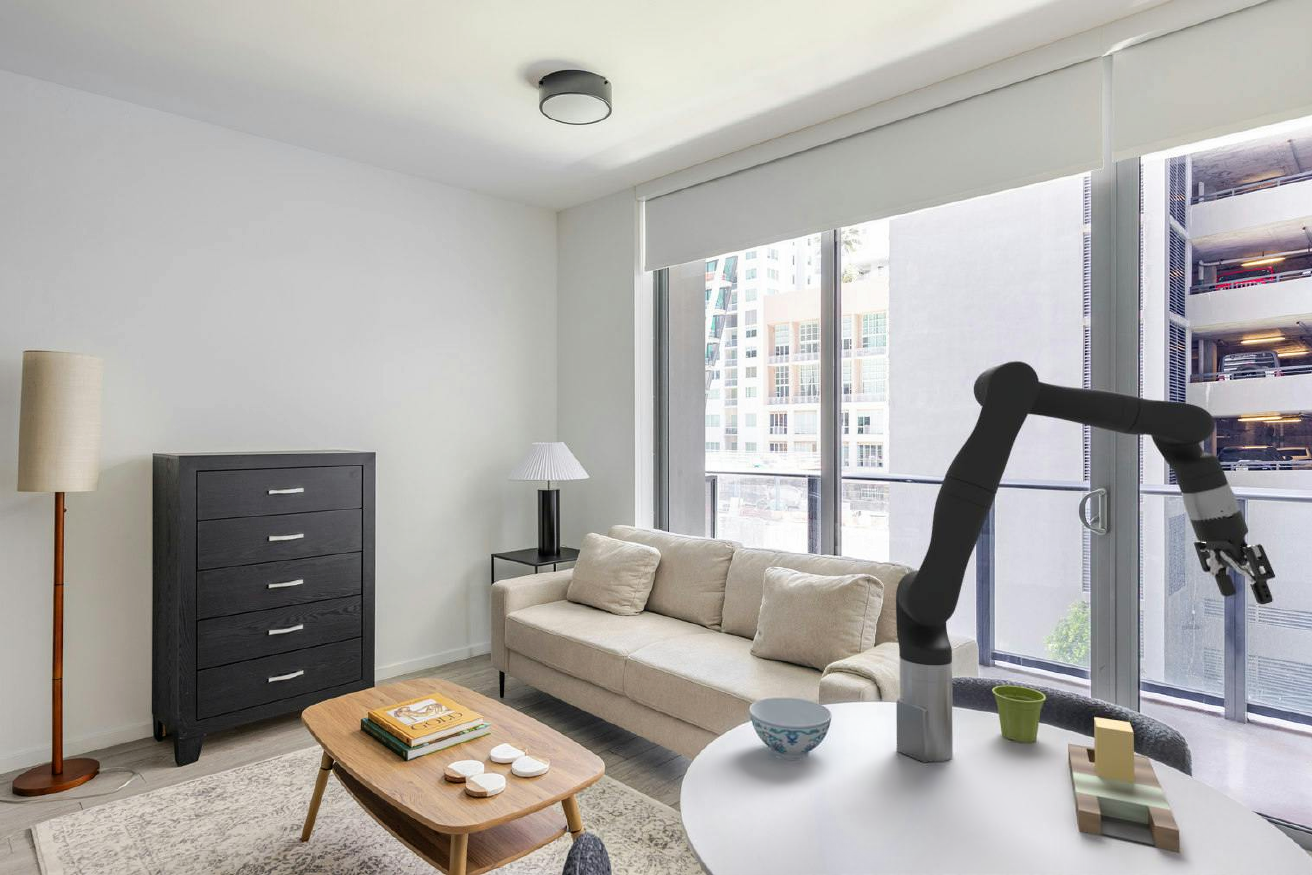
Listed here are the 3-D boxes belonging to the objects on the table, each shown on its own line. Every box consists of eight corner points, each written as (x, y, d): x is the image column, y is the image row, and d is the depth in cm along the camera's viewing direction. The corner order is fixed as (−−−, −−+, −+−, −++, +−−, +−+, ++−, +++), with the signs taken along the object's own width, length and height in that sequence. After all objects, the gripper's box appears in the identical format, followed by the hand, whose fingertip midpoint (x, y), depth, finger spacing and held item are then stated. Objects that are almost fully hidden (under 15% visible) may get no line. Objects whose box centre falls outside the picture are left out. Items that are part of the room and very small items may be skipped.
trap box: (1068, 760, 128) (1068, 743, 128) (1148, 774, 122) (1147, 756, 122) (1078, 830, 103) (1078, 809, 103) (1179, 852, 98) (1179, 830, 98)
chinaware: (802, 732, 140) (802, 693, 140) (848, 763, 126) (848, 719, 126) (735, 743, 135) (735, 702, 135) (775, 775, 121) (775, 730, 121)
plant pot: (1056, 747, 134) (1055, 701, 134) (1006, 746, 134) (1006, 700, 134) (1030, 728, 143) (1030, 685, 143) (984, 728, 143) (983, 685, 144)
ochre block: (1094, 764, 119) (1094, 717, 119) (1130, 771, 116) (1129, 722, 117) (1097, 776, 114) (1096, 726, 115) (1134, 783, 112) (1133, 732, 112)
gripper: (1167, 516, 134) (1198, 598, 133) (1221, 520, 120) (1256, 612, 119) (1206, 504, 134) (1238, 587, 132) (1265, 507, 120) (1301, 599, 118)
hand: (1247, 598), depth 126 cm, fingers open, 8 cm apart
